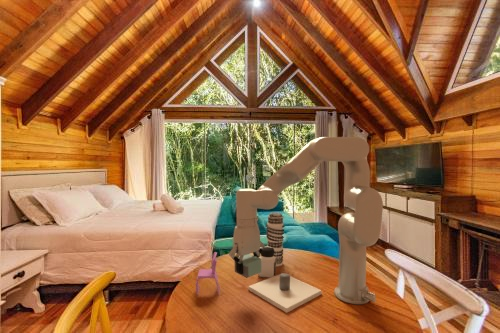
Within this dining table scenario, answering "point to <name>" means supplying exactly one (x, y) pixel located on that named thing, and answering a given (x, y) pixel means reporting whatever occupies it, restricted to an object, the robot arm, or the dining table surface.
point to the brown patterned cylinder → (275, 235)
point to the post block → (284, 291)
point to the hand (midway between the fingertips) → (247, 269)
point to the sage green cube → (250, 265)
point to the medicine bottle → (267, 262)
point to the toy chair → (208, 273)
